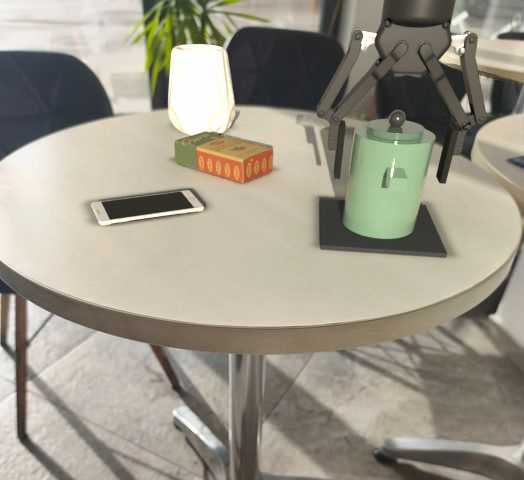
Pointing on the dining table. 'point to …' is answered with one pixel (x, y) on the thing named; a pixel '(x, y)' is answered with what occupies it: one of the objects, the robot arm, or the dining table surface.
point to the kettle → (387, 177)
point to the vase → (200, 89)
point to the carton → (224, 156)
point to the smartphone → (146, 207)
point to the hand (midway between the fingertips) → (388, 177)
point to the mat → (343, 239)
